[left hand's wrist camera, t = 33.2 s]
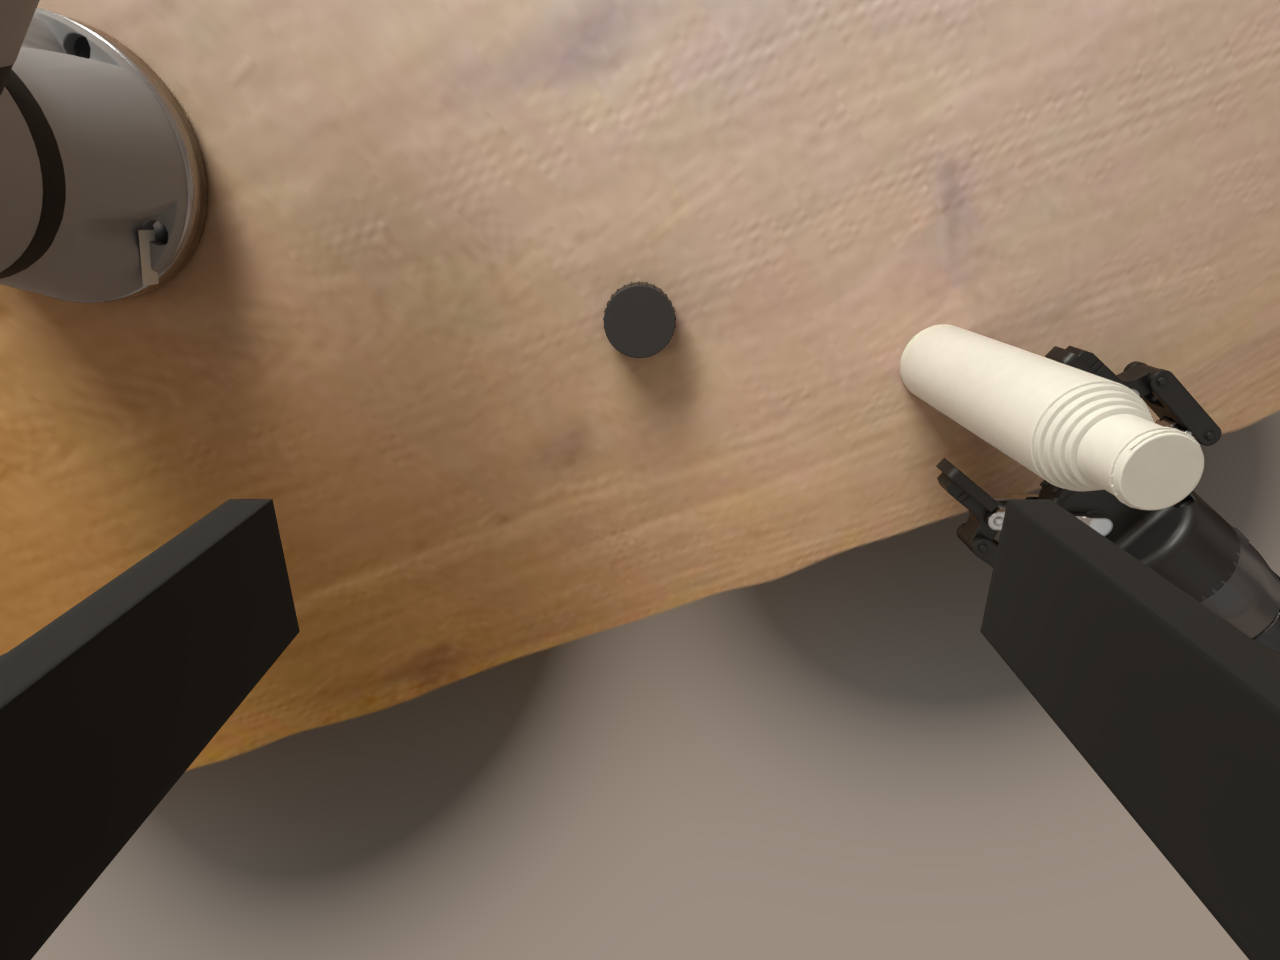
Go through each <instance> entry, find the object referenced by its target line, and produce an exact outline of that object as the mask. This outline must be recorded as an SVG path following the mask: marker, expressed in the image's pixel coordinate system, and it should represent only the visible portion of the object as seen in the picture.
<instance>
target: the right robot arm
mask: <svg viewBox="0 0 1280 960" xmlns="http://www.w3.org/2000/svg"><path fill="white" fill-rule="evenodd" d="M1045 357H1046V358H1048V359H1051V360H1054V361H1057V362H1060V363H1063V364H1065V365H1068V366H1071V367H1074V368H1077V369H1080V370H1083V371H1086V372H1088V373H1091V374H1094V375H1097V376H1100V377H1103V378H1106V379H1108V380H1111V381H1114V382H1117V383H1120V384H1122V385H1124V386H1126V387H1128V388H1130V389H1131V390H1132V391H1134V392H1135V393H1136V394H1137V395H1138V396H1139V397H1140V398H1142V399H1143V400H1144V401H1145V402H1146V403H1147V404H1148V406H1149V407H1150V408H1151V409H1152V410H1153V411H1154V412H1155V413H1156V415H1157V416H1158V417H1159V418H1160V419H1159V420H1157V421H1156V424H1158V425H1161V426H1163V427H1170V428H1174V429H1178V430H1180V431H1182V432H1185V433H1187V434H1189V435H1191V436H1192V437H1194V439H1195V440H1196V441H1197V442H1198V443H1200V444H1202V445H1205V446H1209V445H1213V444H1214V443H1216V442H1217V441H1218V440H1219V439H1220V436H1221V429H1220V428H1219V427H1218V426H1217V425H1216V423H1215V422H1214V421H1213V420H1212V419H1211V418H1210V416H1209V415H1208V414H1207V413H1206V412H1205V411H1204V410H1203V408H1202V407H1201V406H1200V405H1199V404H1198V403H1197V401H1196V400H1195V399H1194V398H1193V397H1192V396H1191V395H1190V393H1189V392H1188V391H1187V390H1186V389H1185V388H1184V386H1183V385H1182V384H1181V383H1180V382H1179V381H1178V380H1177V378H1176V377H1175V376H1174V375H1173V374H1172V373H1171V372H1170V371H1167V370H1164V369H1158V368H1154V367H1151V366H1148V365H1146V364H1144V363H1141V362H1132V363H1130V364H1128V365H1127V366H1126V367H1125V369H1124V371H1123V372H1122V373H1120V374H1118V375H1115V374H1114V373H1113V372H1112V371H1111V370H1110V369H1109V368H1108V367H1107V366H1106V365H1104V364H1103V363H1102V362H1101V361H1100V360H1099V359H1098V358H1097V357H1096V356H1095V355H1094V354H1093V353H1090V352H1087V351H1084V350H1081V349H1078V348H1075V347H1072V346H1069V347H1068V348H1067V349H1066V350H1065V349H1062V348H1059V347H1056V346H1055V347H1054V348H1053V349H1052V350H1051V351H1050V352H1049V353H1048V354H1047V355H1046V356H1045ZM936 467H938V468H939V469H940V470H941V471H942V472H943V473H942V474H941V475H940V476H939V477H938V478H937V479H938V481H939V484H940V485H941V486H942V487H943V488H944V489H945V490H946V491H947V492H948V493H949V494H950V495H952V496H953V497H954V498H955V499H956V500H958V501H959V502H960V503H961V504H963V505H964V506H965V507H966V508H967V509H969V518H968V520H967V522H966V523H964V524H962V525H960V526H959V527H958V529H957V536H958V537H959V538H960V539H961V540H962V541H963V542H964V543H965V544H966V546H967V547H968V548H969V549H970V550H971V551H972V552H973V553H974V554H975V555H976V556H978V557H979V558H980V559H982V560H983V561H985V562H986V563H988V564H989V565H991V566H992V567H993V568H994V563H995V558H996V554H997V549H998V544H999V542H997V541H996V540H994V539H993V538H994V537H995V535H996V533H997V531H998V530H1001V529H1002V524H1003V519H1004V515H1005V510H1006V505H1007V500H1008V499H1051V500H1052V501H1054V502H1055V503H1057V504H1058V505H1059V506H1061V507H1062V508H1064V509H1065V510H1067V511H1068V512H1070V513H1071V514H1072V515H1074V516H1075V517H1077V518H1078V519H1080V520H1081V521H1083V522H1084V523H1085V524H1087V525H1088V526H1090V527H1091V528H1093V529H1094V530H1096V531H1097V532H1099V533H1100V534H1101V535H1103V536H1104V537H1106V538H1107V539H1109V540H1110V541H1112V542H1113V543H1114V544H1116V545H1117V546H1119V547H1120V548H1122V549H1123V550H1125V551H1126V552H1127V553H1129V554H1130V555H1132V556H1133V557H1135V558H1136V559H1138V560H1139V561H1141V562H1142V563H1143V564H1145V565H1146V566H1148V567H1149V568H1151V569H1152V570H1154V571H1155V572H1156V573H1158V574H1159V575H1161V576H1162V577H1164V578H1165V579H1167V580H1168V581H1169V582H1171V583H1172V584H1174V585H1175V586H1177V587H1178V588H1180V589H1181V590H1183V591H1184V592H1185V593H1187V594H1188V595H1190V596H1191V597H1193V598H1194V599H1196V600H1197V601H1198V602H1200V603H1201V604H1203V605H1204V606H1206V607H1207V608H1209V609H1210V610H1211V611H1213V612H1214V613H1216V614H1217V615H1219V616H1220V617H1222V618H1223V619H1225V620H1226V621H1227V622H1229V623H1230V624H1232V625H1233V626H1235V627H1236V628H1238V629H1239V630H1240V631H1242V632H1243V633H1245V634H1246V635H1248V636H1249V637H1251V638H1252V639H1253V640H1255V641H1256V642H1258V643H1260V644H1262V645H1264V646H1266V647H1268V648H1270V649H1273V650H1275V651H1277V652H1279V653H1280V577H1279V576H1278V575H1277V574H1276V573H1274V572H1273V571H1272V570H1271V569H1270V567H1269V566H1268V564H1267V563H1266V562H1265V560H1264V559H1263V557H1262V556H1261V555H1260V554H1259V552H1258V551H1257V550H1256V549H1255V548H1254V547H1253V546H1252V545H1251V544H1250V543H1249V542H1248V541H1249V540H1248V539H1247V538H1246V537H1245V536H1244V535H1243V534H1242V533H1241V532H1240V531H1239V530H1238V529H1237V528H1234V527H1232V526H1231V525H1230V524H1228V523H1227V522H1226V521H1225V520H1224V519H1223V518H1222V517H1221V516H1220V515H1219V514H1218V513H1217V512H1215V511H1214V510H1213V509H1212V508H1211V507H1210V506H1209V505H1208V504H1207V503H1206V502H1205V501H1204V500H1203V499H1202V498H1200V497H1199V496H1198V495H1197V494H1196V493H1195V492H1194V491H1192V492H1191V493H1190V494H1189V495H1188V496H1186V497H1185V498H1184V499H1183V500H1181V501H1180V502H1178V503H1176V504H1175V505H1172V506H1170V507H1167V508H1164V509H1160V510H1141V509H1136V508H1131V507H1129V506H1127V505H1125V504H1124V503H1122V502H1120V501H1119V500H1118V499H1117V497H1116V496H1115V495H1113V494H1111V493H1109V492H1108V491H1106V490H1094V491H1072V490H1068V489H1063V488H1060V487H1057V486H1054V485H1052V484H1050V483H1049V482H1047V481H1046V480H1044V481H1043V482H1042V483H1041V484H1040V486H1042V489H1041V491H1040V493H1039V494H1010V495H1009V496H1008V497H995V496H989V495H988V494H987V493H986V492H985V491H983V490H982V489H981V488H980V487H979V486H977V485H976V484H975V483H974V482H973V481H971V480H970V479H969V478H968V477H967V476H965V475H964V474H963V473H962V472H961V471H960V470H958V469H957V468H956V467H955V466H954V465H952V464H951V463H950V462H949V461H947V460H946V459H945V458H944V459H943V460H942V461H941V462H940V463H939V464H938V465H937V466H936Z"/></svg>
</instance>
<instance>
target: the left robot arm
mask: <svg viewBox="0 0 1280 960" xmlns="http://www.w3.org/2000/svg"><path fill="white" fill-rule="evenodd" d="M38 3H39V0H0V284H2V285H6V286H10V287H14V288H18V289H22V290H26V291H30V292H33V293H37V294H41V295H45V296H49V297H52V298H56V299H61V300H66V301H73V302H86V303H92V302H105V301H111V300H117V299H123V298H129V297H135V296H138V295H142V294H145V293H147V292H150V291H152V290H155V289H156V288H158V287H160V286H162V285H164V284H165V283H166V282H168V281H169V280H171V279H172V278H173V277H174V276H175V275H176V274H177V273H178V272H180V271H181V269H182V268H183V267H184V266H185V265H186V263H187V262H188V261H189V259H190V258H191V256H192V254H193V253H194V251H195V249H196V247H197V245H198V243H199V240H200V237H201V235H202V232H203V228H204V223H205V219H206V211H207V180H206V173H205V167H204V163H203V159H202V155H201V151H200V148H199V145H198V142H197V139H196V137H195V134H194V132H193V130H192V127H191V125H190V123H189V121H188V119H187V117H186V115H185V113H184V112H183V110H182V108H181V106H180V105H179V103H178V102H177V100H176V99H175V97H174V96H173V94H172V93H171V91H170V90H169V89H168V87H167V86H166V85H165V83H164V82H163V81H162V80H161V79H160V78H159V77H158V75H157V74H156V73H155V72H154V71H153V70H152V69H151V68H150V67H149V66H148V65H147V64H146V63H145V62H144V61H143V60H142V59H141V58H140V57H138V56H137V55H136V54H135V53H134V52H132V51H131V50H130V49H129V48H127V47H126V46H124V45H123V44H122V43H120V42H119V41H117V40H116V39H114V38H113V37H111V36H109V35H107V34H106V33H104V32H102V31H100V30H98V29H96V28H94V27H92V26H90V25H87V24H85V23H82V22H79V21H77V20H74V19H71V18H68V17H65V16H62V15H59V14H56V13H54V12H51V11H47V10H44V9H40V8H37V5H38ZM298 633H299V627H298V622H297V617H296V612H295V607H294V602H293V597H292V593H291V588H290V583H289V578H288V573H287V568H286V563H285V558H284V554H283V549H282V544H281V539H280V534H279V529H278V524H277V520H276V515H275V510H274V505H273V500H272V499H229V500H228V501H226V502H225V503H223V504H222V505H221V506H219V507H218V508H216V509H215V510H213V511H212V512H210V513H209V514H208V515H206V516H205V517H203V518H202V519H200V520H199V521H197V522H196V523H195V524H193V525H192V526H190V527H189V528H187V529H186V530H184V531H183V532H181V533H180V534H179V535H177V536H176V537H174V538H173V539H171V540H170V541H168V542H167V543H166V544H164V545H163V546H161V547H160V548H158V549H157V550H155V551H154V552H153V553H151V554H150V555H148V556H147V557H145V558H144V559H142V560H141V561H139V562H138V563H137V564H135V565H134V566H132V567H131V568H129V569H128V570H126V571H125V572H124V573H122V574H121V575H119V576H118V577H116V578H115V579H113V580H112V581H111V582H109V583H108V584H106V585H105V586H103V587H102V588H100V589H99V590H97V591H96V592H95V593H93V594H92V595H90V596H89V597H87V598H86V599H84V600H83V601H82V602H80V603H79V604H77V605H76V606H74V607H73V608H71V609H70V610H69V611H67V612H66V613H64V614H63V615H61V616H60V617H58V618H57V619H55V620H54V621H53V622H51V623H50V624H48V625H47V626H45V627H44V628H42V629H41V630H40V631H38V632H37V633H35V634H34V635H32V636H31V637H29V638H28V639H27V640H25V641H24V642H22V643H21V644H19V645H18V646H16V647H15V648H13V649H12V650H11V651H9V652H8V653H6V654H3V655H1V656H0V960H31V959H32V957H33V956H34V955H35V954H36V953H37V951H38V950H39V949H40V948H41V947H42V945H43V944H44V943H45V942H46V940H47V939H48V938H49V937H50V936H51V934H52V933H53V932H54V931H55V929H56V928H57V927H58V926H59V924H60V923H61V922H62V921H63V920H64V918H65V917H66V916H67V915H68V914H69V912H70V911H71V910H72V909H73V907H74V906H75V905H76V904H77V903H78V901H79V900H80V899H81V898H82V896H83V895H84V894H85V893H86V892H87V890H88V889H89V888H90V887H91V885H92V884H93V883H94V882H95V881H96V879H97V878H98V877H99V876H100V874H101V873H102V872H103V871H104V870H105V868H106V867H107V866H108V865H109V864H110V862H111V861H112V860H113V859H114V857H115V856H116V855H117V854H118V852H119V851H120V850H121V849H122V848H123V846H124V845H125V844H126V843H127V842H128V840H129V839H130V838H131V837H132V835H133V834H134V833H135V832H136V831H137V829H138V828H139V827H140V826H141V824H142V823H143V822H144V821H145V819H146V818H147V817H148V816H149V815H150V813H151V812H152V811H153V810H154V808H155V807H156V806H157V805H158V804H159V802H160V801H161V800H162V799H163V798H164V796H165V795H166V794H167V793H168V791H169V790H170V789H171V788H172V787H173V785H174V784H175V783H176V782H177V780H178V779H179V778H180V777H181V776H182V774H183V773H184V772H185V771H186V770H187V768H188V767H189V766H190V765H191V763H192V762H193V761H194V760H195V759H196V757H197V756H198V755H199V754H200V752H201V751H202V750H203V749H204V748H205V746H206V745H207V744H208V743H209V741H210V740H211V739H212V738H213V737H214V735H215V734H216V733H217V732H218V730H219V729H220V728H221V727H222V726H223V724H224V723H225V722H226V721H227V719H228V718H229V717H230V716H231V715H232V713H233V712H234V711H235V710H236V708H237V707H238V706H239V705H240V704H241V702H242V701H243V700H244V699H245V697H246V696H247V695H248V694H249V693H250V691H251V690H252V689H253V688H254V686H255V685H256V684H257V683H258V682H259V680H260V679H261V678H262V677H263V676H264V674H265V673H266V672H267V671H268V669H269V668H270V667H271V666H272V665H273V663H274V662H275V661H276V660H277V658H278V657H279V656H280V655H281V654H282V652H283V651H284V650H285V649H286V647H287V646H288V645H289V644H290V643H291V641H292V640H293V639H294V638H295V636H296V635H297V634H298ZM981 633H982V634H983V635H984V636H985V638H986V639H987V640H988V641H989V643H990V644H991V645H992V646H993V647H994V649H995V650H996V651H997V652H998V654H999V655H1000V656H1001V657H1002V658H1003V660H1004V661H1005V662H1006V663H1007V665H1008V666H1009V667H1010V668H1011V669H1012V671H1013V672H1014V673H1015V674H1016V676H1017V677H1018V678H1019V679H1020V680H1021V682H1022V683H1023V684H1024V685H1025V686H1026V688H1027V689H1028V690H1029V691H1030V693H1031V694H1032V695H1033V696H1034V697H1035V699H1036V700H1037V701H1038V702H1039V704H1040V705H1041V706H1042V707H1043V708H1044V710H1045V711H1046V712H1047V713H1048V715H1049V716H1050V717H1051V718H1052V719H1053V721H1054V722H1055V723H1056V724H1057V725H1058V727H1059V728H1060V729H1061V730H1062V732H1063V733H1064V734H1065V735H1066V737H1067V738H1068V739H1069V740H1070V741H1071V743H1072V744H1073V745H1074V746H1075V748H1076V749H1077V750H1078V751H1079V752H1080V754H1081V755H1082V756H1083V757H1084V759H1085V760H1086V761H1087V762H1088V763H1089V765H1090V766H1091V767H1092V768H1093V770H1094V771H1095V772H1096V773H1097V774H1098V776H1099V777H1100V778H1101V779H1102V780H1103V782H1104V783H1105V784H1106V785H1107V787H1108V788H1109V789H1110V790H1111V791H1112V793H1113V794H1114V795H1115V796H1116V797H1117V799H1118V800H1119V801H1120V802H1121V804H1122V805H1123V806H1124V807H1125V809H1126V810H1127V811H1128V812H1129V813H1130V815H1131V816H1132V817H1133V818H1134V820H1135V821H1136V822H1137V823H1138V824H1139V826H1140V827H1141V828H1142V829H1143V831H1144V832H1145V833H1146V834H1147V835H1148V837H1149V838H1150V839H1151V840H1152V842H1153V843H1154V844H1155V845H1156V846H1157V848H1158V849H1159V850H1160V851H1161V853H1162V854H1163V855H1164V856H1165V857H1166V859H1167V860H1168V861H1169V862H1170V863H1171V865H1172V866H1173V867H1174V868H1175V870H1176V871H1177V872H1178V873H1179V875H1180V876H1181V877H1182V878H1183V879H1184V881H1185V882H1186V883H1187V884H1188V885H1189V887H1190V888H1191V889H1192V890H1193V892H1194V893H1195V894H1196V895H1197V896H1198V898H1199V899H1200V900H1201V901H1202V903H1203V904H1204V905H1205V906H1206V907H1207V909H1208V910H1209V911H1210V912H1211V914H1212V915H1213V916H1214V917H1215V918H1216V920H1217V921H1218V922H1219V923H1220V925H1221V926H1222V927H1223V928H1224V929H1225V931H1226V932H1227V933H1228V934H1229V936H1230V937H1231V938H1232V939H1233V940H1234V942H1235V943H1236V944H1237V945H1238V947H1239V948H1240V949H1241V950H1242V951H1243V953H1244V954H1245V955H1246V956H1247V957H1248V959H1249V960H1280V653H1279V652H1277V651H1275V650H1273V649H1270V648H1268V647H1266V646H1264V645H1262V644H1260V643H1258V642H1256V641H1255V640H1253V639H1252V638H1251V637H1249V636H1248V635H1246V634H1245V633H1243V632H1242V631H1240V630H1239V629H1238V628H1236V627H1235V626H1233V625H1232V624H1230V623H1229V622H1227V621H1226V620H1225V619H1223V618H1222V617H1220V616H1219V615H1217V614H1216V613H1214V612H1213V611H1211V610H1210V609H1209V608H1207V607H1206V606H1204V605H1203V604H1201V603H1200V602H1198V601H1197V600H1196V599H1194V598H1193V597H1191V596H1190V595H1188V594H1187V593H1185V592H1184V591H1183V590H1181V589H1180V588H1178V587H1177V586H1175V585H1174V584H1172V583H1171V582H1169V581H1168V580H1167V579H1165V578H1164V577H1162V576H1161V575H1159V574H1158V573H1156V572H1155V571H1154V570H1152V569H1151V568H1149V567H1148V566H1146V565H1145V564H1143V563H1142V562H1141V561H1139V560H1138V559H1136V558H1135V557H1133V556H1132V555H1130V554H1129V553H1127V552H1126V551H1125V550H1123V549H1122V548H1120V547H1119V546H1117V545H1116V544H1114V543H1113V542H1112V541H1110V540H1109V539H1107V538H1106V537H1104V536H1103V535H1101V534H1100V533H1099V532H1097V531H1096V530H1094V529H1093V528H1091V527H1090V526H1088V525H1087V524H1085V523H1084V522H1083V521H1081V520H1080V519H1078V518H1077V517H1075V516H1074V515H1072V514H1071V513H1070V512H1068V511H1067V510H1065V509H1064V508H1062V507H1061V506H1059V505H1058V504H1057V503H1055V502H1054V501H1052V500H1051V499H1008V500H1007V505H1006V510H1005V515H1004V519H1003V524H1002V529H1001V534H1000V539H999V544H998V549H997V554H996V558H995V563H994V568H993V573H992V578H991V583H990V588H989V593H988V597H987V603H986V607H985V612H984V617H983V622H982V627H981Z"/></svg>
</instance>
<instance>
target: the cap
mask: <svg viewBox="0 0 1280 960" xmlns="http://www.w3.org/2000/svg"><path fill="white" fill-rule="evenodd" d="M674 312H675V311H674V308H672V303H671V300H670V301H669V299H668V297H667V294H664V292H663V291H662V290H661V289H659V288H657V287H656V286H655V285H651V284H648V283H647V282H646V283H643V282H640V281H639V282H637V283H632V282H631V284H628V285H624V286H623V287H622V288H620V289H617V291H616V293H615V294H614V295H613V294H612V296H611V299H610V301H608V303H607V308H605V311H604V313H605V315H604V318H603V320H604V328H605V332H606V336H607V338H608V339H609V341H610V343H611V344H612V345H613V346H614V347H615V348H616V349H617V350H618V351H619V352H621V353H623V354H625V355H627V356H630V357H635V358H644V357H649V356H652V355H655V354H656V353H658V352H660V351H661V350H662V349H663V348H664V347H665V346H666V345H667V344H668V343H669V341H670V339H671V338H672V335H673V332H674V328H675V320H676V318H675V315H674Z"/></svg>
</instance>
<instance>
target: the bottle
mask: <svg viewBox="0 0 1280 960" xmlns="http://www.w3.org/2000/svg"><path fill="white" fill-rule="evenodd" d="M900 374H901V378H902V381H903V383H904V385H905V386H906V388H907V389H908V390H909V391H910V392H911V393H912V394H914V395H915V396H917V397H918V398H920V399H922V400H923V401H925V402H926V403H928V404H929V405H931V406H932V407H934V408H935V409H937V410H938V411H940V412H941V413H943V414H945V415H946V416H948V417H949V418H951V419H952V420H954V421H955V422H957V423H958V424H960V425H961V426H963V427H964V428H966V429H968V430H969V431H971V432H972V433H974V434H975V435H977V436H978V437H980V438H981V439H983V440H984V441H986V442H987V443H989V444H991V445H992V446H994V447H995V448H997V449H998V450H1000V451H1001V452H1003V453H1004V454H1006V455H1007V456H1009V457H1010V458H1012V459H1014V460H1015V461H1017V462H1018V463H1020V464H1021V465H1023V466H1024V467H1026V468H1027V469H1029V470H1030V471H1032V472H1033V473H1035V474H1037V475H1038V476H1040V477H1041V478H1043V479H1044V480H1046V481H1047V482H1049V483H1050V484H1052V485H1054V486H1057V487H1060V488H1063V489H1068V490H1072V491H1094V490H1106V491H1108V492H1109V493H1111V494H1113V495H1115V496H1116V497H1117V499H1118V500H1119V501H1120V502H1122V503H1124V504H1125V505H1127V506H1129V507H1131V508H1136V509H1141V510H1160V509H1164V508H1167V507H1170V506H1172V505H1175V504H1176V503H1178V502H1180V501H1181V500H1183V499H1184V498H1185V497H1186V496H1188V495H1189V494H1190V493H1191V492H1192V491H1193V489H1194V488H1195V487H1196V485H1197V484H1198V482H1199V480H1200V478H1201V476H1202V473H1203V469H1204V456H1203V452H1202V450H1201V447H1200V444H1199V443H1198V442H1197V441H1196V440H1195V439H1194V437H1192V436H1191V435H1189V434H1187V433H1185V432H1182V431H1180V430H1178V429H1174V428H1170V427H1163V426H1161V425H1158V424H1156V423H1154V420H1153V418H1152V416H1151V414H1150V412H1149V409H1148V407H1147V405H1146V404H1145V402H1144V401H1143V400H1142V399H1141V398H1140V397H1139V396H1138V395H1137V394H1136V393H1135V392H1134V391H1132V390H1131V389H1130V388H1128V387H1126V386H1124V385H1122V384H1120V383H1117V382H1114V381H1111V380H1108V379H1106V378H1103V377H1100V376H1097V375H1094V374H1091V373H1088V372H1086V371H1083V370H1080V369H1077V368H1074V367H1071V366H1068V365H1065V364H1063V363H1060V362H1057V361H1054V360H1051V359H1048V358H1045V357H1043V356H1040V355H1037V354H1034V353H1031V352H1028V351H1025V350H1023V349H1020V348H1017V347H1014V346H1011V345H1008V344H1005V343H1003V342H1000V341H997V340H994V339H991V338H988V337H985V336H983V335H980V334H977V333H974V332H971V331H968V330H965V329H962V328H960V327H957V326H954V325H948V324H940V325H935V326H931V327H928V328H926V329H924V330H922V331H921V332H919V333H918V334H917V335H916V336H914V337H913V338H912V339H911V340H910V342H909V343H908V344H907V346H906V348H905V349H904V352H903V354H902V357H901V362H900Z"/></svg>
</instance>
